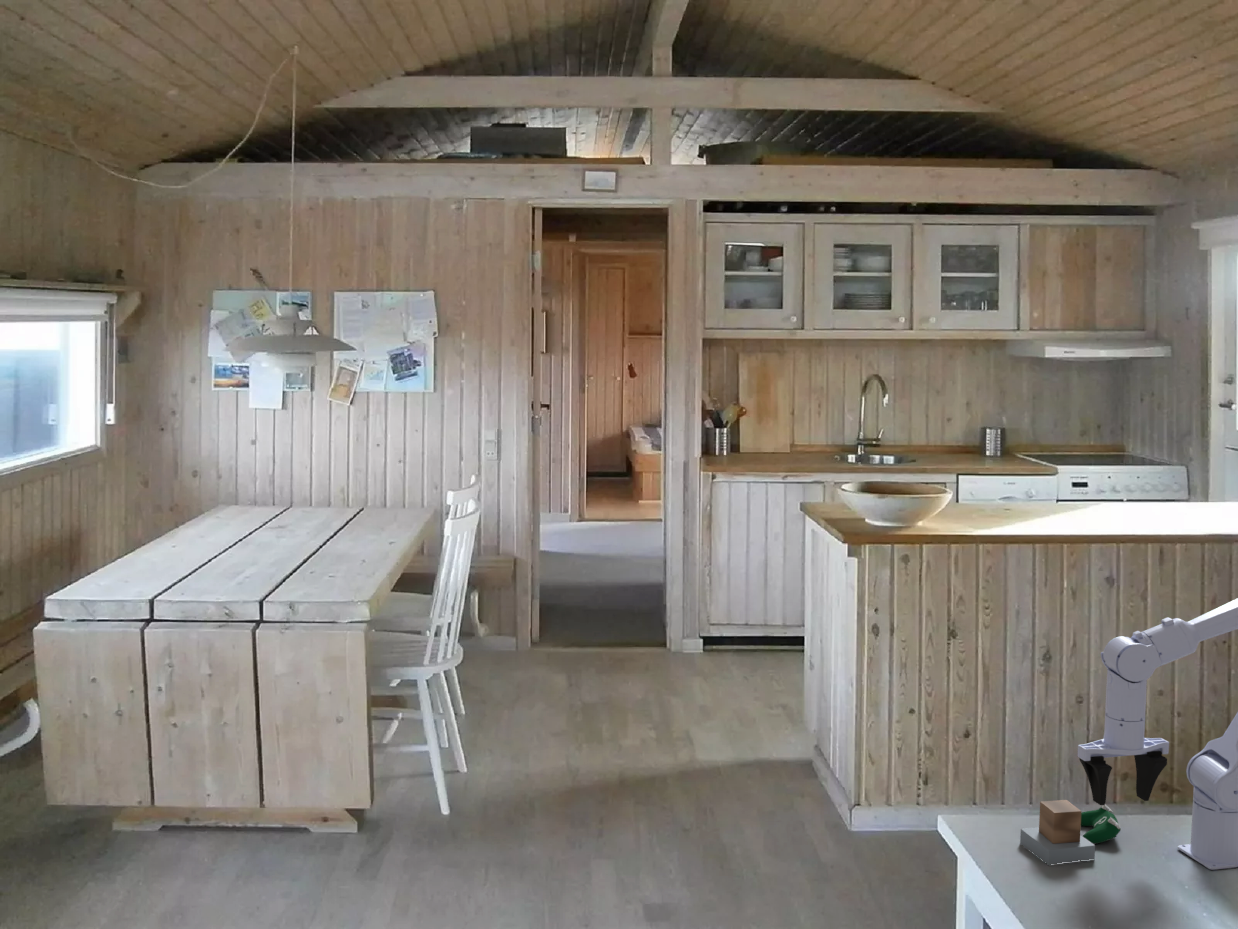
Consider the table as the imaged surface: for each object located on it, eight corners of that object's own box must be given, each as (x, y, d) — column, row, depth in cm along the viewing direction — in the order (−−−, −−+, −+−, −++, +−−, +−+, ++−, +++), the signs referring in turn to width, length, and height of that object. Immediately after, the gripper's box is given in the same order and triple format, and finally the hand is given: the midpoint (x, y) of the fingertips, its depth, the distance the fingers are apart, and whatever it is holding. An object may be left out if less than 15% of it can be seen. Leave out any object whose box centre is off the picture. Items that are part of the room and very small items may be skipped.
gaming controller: (1097, 858, 192) (1127, 835, 191) (1080, 840, 193) (1110, 817, 191) (1087, 833, 201) (1115, 812, 200) (1071, 817, 201) (1099, 795, 200)
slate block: (1064, 841, 195) (1065, 824, 194) (1094, 863, 187) (1095, 845, 187) (1020, 846, 193) (1020, 828, 193) (1048, 868, 185) (1048, 850, 185)
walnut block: (1065, 829, 192) (1066, 799, 192) (1079, 841, 188) (1081, 811, 187) (1038, 831, 192) (1040, 801, 191) (1053, 843, 187) (1054, 812, 187)
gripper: (1150, 704, 190) (1145, 786, 192) (1067, 710, 187) (1064, 794, 189) (1179, 718, 183) (1175, 804, 185) (1094, 725, 180) (1090, 812, 182)
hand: (1120, 800), depth 187 cm, fingers open, 7 cm apart
